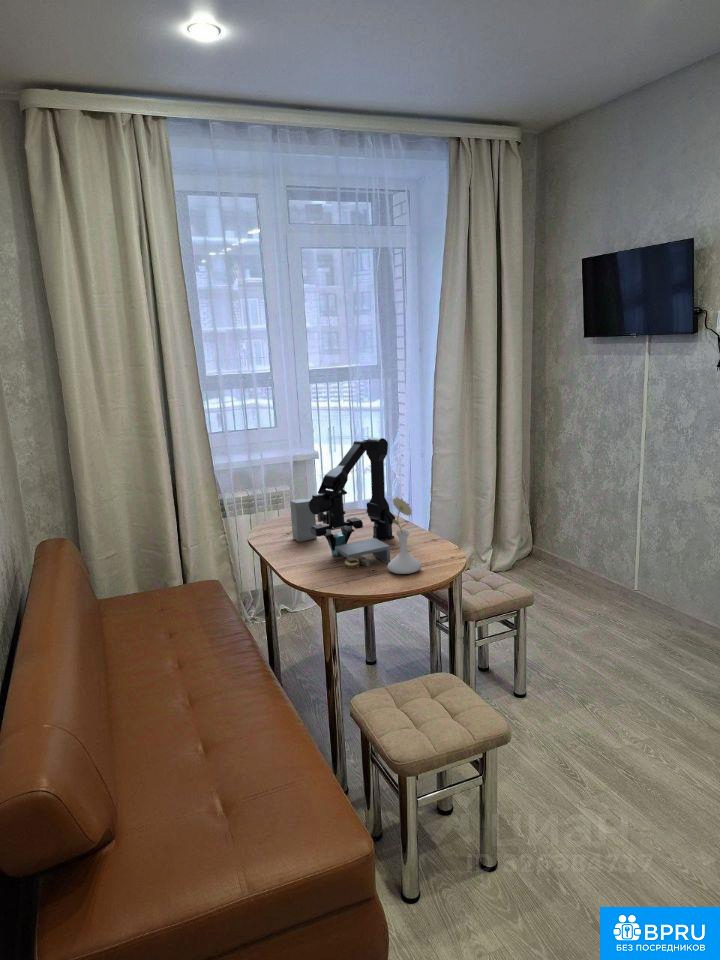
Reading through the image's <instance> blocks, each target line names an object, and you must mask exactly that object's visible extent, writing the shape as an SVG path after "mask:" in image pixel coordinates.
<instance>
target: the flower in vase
mask: <svg viewBox="0 0 720 960" xmlns="http://www.w3.org/2000/svg"><path fill="white" fill-rule="evenodd" d="M392 504H393V506H395V509H397V510H398V513H397V517H396V518H395V519H393V524H395V525H397V526H398V527H399V529H398V530H396V531H395V535H396V536H397V537H398V541H399V553H398V554H397V555H395V557H394V558H392V559H390V562H389V563H387V569H388V570H389V571H390V572H391V573H393V574H398V575H410V574H413V573H416V572H418V571H419V570H420V569H422V564H421V562H420V561H419V560H418V559H417V558H415V557H414V556H413V555H411V554H410V553H409V551H408V548H407V546H408V545H407V544H408V537H409V535H410V533H411V531H410V530H409V529H403V528H404V527H406V525H408V523H409V522H407V523H405V524H402V525H401V526H400V523H399V518H400V513H401V514H403V515H404V516H408V517H409V516H410V515H413V514H412V512H413V510H412V508H411V506H410V504H409V503H408V502H406V501H405V500H404V498H399V497H398V496H396V497H395V498H393V499H392ZM396 519H397V520H396ZM389 571H388V572H389Z"/></svg>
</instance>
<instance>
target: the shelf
mask: <svg viewBox="0 0 720 960" xmlns="http://www.w3.org/2000/svg"><path fill="white" fill-rule="evenodd" d="M335 550H336V551H338V552H339V553H341V554H342V555H344V556H346V557H347V558H346V557H345V558H346V559H348V558H352V557H357V556H366V555H370V554H372V556H374V557H375V558H378V559H380V560H381V561H382V562H385V563H386V564H389V562H390V561H391V546H390V545H389V544H387V543H385V542H383V541H382V540H378V539H376V538H375V537H373V538H369V539H365V540H364V539H363V540H360V541H359V540H358V541H353V542H349V543H347V544H344V545H340V546H335ZM342 555H341V556H342ZM344 556H343V557H344Z"/></svg>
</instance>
